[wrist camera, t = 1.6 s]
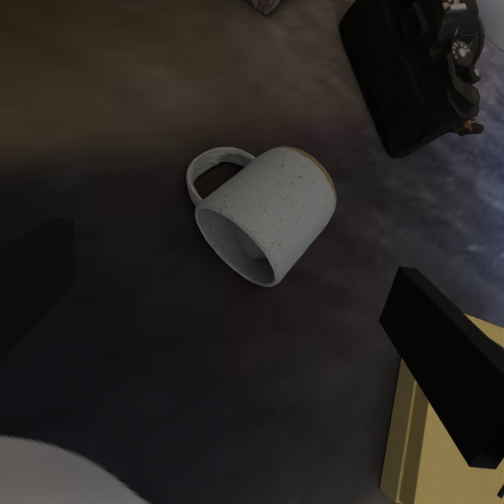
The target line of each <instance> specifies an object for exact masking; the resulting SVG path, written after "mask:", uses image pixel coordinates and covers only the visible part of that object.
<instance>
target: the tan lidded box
mask: <svg viewBox="0 0 504 504" xmlns="http://www.w3.org/2000/svg"><path fill="white" fill-rule="evenodd" d="M465 315H466V316H467V317H468V318H469V319H470V320H471V321H472V322H473V323H474V324H475V325H476V326H477V327H478V328H479V329H480V330H481V331H483V332H484V333H485V334H486V335H487V336H488V337H489V338H490V339H492V340H493V341H495V342H496V343H498V344H499V345H501V346H502V347H503V348H504V328H501V327H499V326H496V325H493V324H491V323H488V322H485V321H483V320H480V319H477V318H475V317H472V316H469V315H467V314H465ZM503 484H504V458H503V460H502V461H501V463H500V464H499V466H498V467H497V469H496V470H495V469H484V468H473V467H469V466H468V464H467V463H466V461H465V459H464V458H463V456H462V455H461V453H460V451H459V450H458V448H457V447H456V445H455V443H454V442H453V440H452V438H451V437H450V435H449V434H448V432H447V430H446V429H445V427H444V426H443V424H442V422H441V421H440V419H439V417H438V416H437V414H436V413H435V411H434V409H433V408H432V406H431V405H430V403H429V401H428V400H427V398H426V396H425V395H424V393H423V392H422V390H421V388H420V387H419V385H418V384H417V382H416V380H415V379H414V377H413V375H412V374H411V372H410V371H409V369H408V367H407V366H406V364H405V362H404V361H403V359H402V358H401V364H400V370H399V376H398V382H397V388H396V394H395V399H394V405H393V411H392V417H391V423H390V429H389V435H388V441H387V447H386V453H385V459H384V465H383V471H382V477H381V483H380V490H381V491H382V492H384V493H385V494H386V495H387V496H389V497H390V498H391V499H393V500H394V501H395V502H397V503H403V504H504V496H503V497H502V499H501V498H500V497H498V496H497V494H498V492H499V490H500V489H501V487H502V486H503Z"/></svg>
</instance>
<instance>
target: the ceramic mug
mask: <svg viewBox="0 0 504 504" xmlns="http://www.w3.org/2000/svg"><path fill="white" fill-rule="evenodd" d="M220 162H233V163H237V164H239V165H242V166H244V167H245V168H244V169H243V170H241V171H240V172H239V173H238V174H236V175H235V176H234V177H232V178H231V179H230V180H228V181H227V182H226V183H224V184H223V185H222V186H221V187H219V188H218V189H217V190H216V191H214V192H213V193H212V194H210V195H209V196H208V197H206V198H205V199H204V200H203V199H202V198H201V197H200V196H199V195H198V193H197V191H196V189H195V187H194V186H193V183H194V181H195V180H196V178H197V177H198V176H199V175H201V174H202V173H204V172H205V171H207V170H208V169H210V168H211V167H213V166H216V165H218V164H219V163H220ZM186 181H187V186H188V191H189V195H190V198H191V199H192V201H193V203H194V204H195V206H196V209H195V218H196V222H197V224H198V226H199V228H200V231H201V232H202V234H203V236H204V237H205V239H206V241H207V242H208V243H209V244H210V245H211V247H212V248H213V249H214V250H215V252H216V253H217V254H218V255H219V256H220V257H221V258H222V259H223V260H224V261H225V262H226V263H227V264H228V265H229V266H230V267H231V268H233V270H235V271H236V272H237V273H239V274H240V275H241V276H243V277H244V278H246V279H248V280H249V281H251V282H253V283H256V284H258V285H261V286H266V287H271V286H274V285H276V284H278V283H279V282H280V281H281V279H282V278H283V277H284V276H285V274H286V273H287V272H288V271H289V269H290V268H291V267H292V266H293V265H294V264H295V263H296V261H297V260H298V259H299V258H300V257H301V255H302V254H303V253H304V252H305V250H306V249H307V248H308V247H309V245H310V244H311V243H312V242H313V240H314V239H315V238H316V237H317V236H318V235H319V234H320V233H321V231H322V230H323V229H324V228H325V226H326V225H327V223H328V222H329V220H330V218H331V216H332V214H333V213H334V210H335V207H336V191H335V188H334V185H333V181H332V179H331V178H330V176H329V174H328V173H327V172H326V170H325V169H324V168H323V166H322V165H321V164H320V163H319V162H317V161H316V160H315V159H314V158H313V157H312V156H310V155H309V154H307V153H306V152H304V151H302V150H299V149H297V148H294V147H288V146H280V147H276V148H273V149H271V150H269V151H267V152H265V153H263V154H261V155H260V156H258V157H257V158H255V157H254V156H252V155H251V154H249V153H247V152H245V151H243V150H240V149H237V148H234V147H220V148H214V149H211V150H209V151H206V152H204V153H202V154H201V155H199V156H198V157H197V158H196V159H194V160H193V161H192V163H191V164H190V165H189V167H188V170H187V175H186Z"/></svg>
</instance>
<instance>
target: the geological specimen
mask: <svg viewBox="0 0 504 504" xmlns="http://www.w3.org/2000/svg"><path fill="white" fill-rule="evenodd" d="M247 1H248V2H249V3H251V4H252V5H253V6H254V7H255V8H256V9H257V10H258V11H260V12H261V13H263V14H265V15H266V14H268V13H269V12H270V11H271V10H272V9H273V8H274V7H276V5H277V4H278V3H279V2H280V0H247Z"/></svg>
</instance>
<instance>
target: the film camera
mask: <svg viewBox="0 0 504 504" xmlns="http://www.w3.org/2000/svg"><path fill="white" fill-rule="evenodd" d="M340 29H341V31H342V30H344V31H345V33H344V43H345V44H344V45H345V47H346V48H347V50H348V51H347V53H348V55H349V57H350V59H351V61H352V64H353V68H354V71H356V74H357V77H358V80H359V82H360V85H361V88H362V91H363V93H364V96H365V98H366V100H367V103H368V105H369V107H370V109H371V112H372V114H373V116H374V119H375V122H376V125H377V128H378V130H379V132H380V135H381V138H382V141H383V142H384V144H385V146H386V148H387V150H388V151H389V153H390V154H391V156H392V157H400V158H401V157H403V156H407V155H408V154H410V153H411V152H413V151H415V150H418V149H419V148H421V147H422V146H424V145H426V144H428V143H430V142H431V141H433V140H435V139H437V138H438V137H440V136H442V135H443V134H445V133H449V132H453V133H458V135H459V136H464V135H467V134H480V133H481V132H482V131H483V130H484V126H483V125H481V124H478V123H476V117H475V116H477V115H478V112H479V101H480V96H479V91H478V89H477V88H475V87H474V86H472V84H473V83H476V82H478V81H480V73H479V70H478V69H477V68H476V67H474V65H475V64H476V62H477V61H478V59H479V57H480V54H481V51H482V49H483V45H484V38H485V33H484V32H485V31H484V27H483V23H482V21H481V19H480V18H479V16H478V7H477V4H476V0H356V1H355V2H354V3H353V4H352V6H351V7H350V8H349V9H348V11H347V12H346V13H345V15H344V17H343V19H342V21H341V24H340ZM470 119H471V121H470Z"/></svg>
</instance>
